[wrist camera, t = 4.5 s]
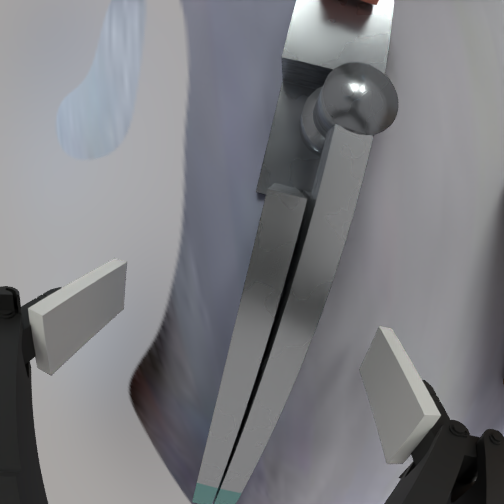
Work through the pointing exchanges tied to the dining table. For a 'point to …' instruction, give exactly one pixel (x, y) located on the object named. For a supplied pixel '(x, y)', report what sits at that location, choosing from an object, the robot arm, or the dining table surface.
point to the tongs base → (287, 195)
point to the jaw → (313, 253)
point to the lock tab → (371, 1)
